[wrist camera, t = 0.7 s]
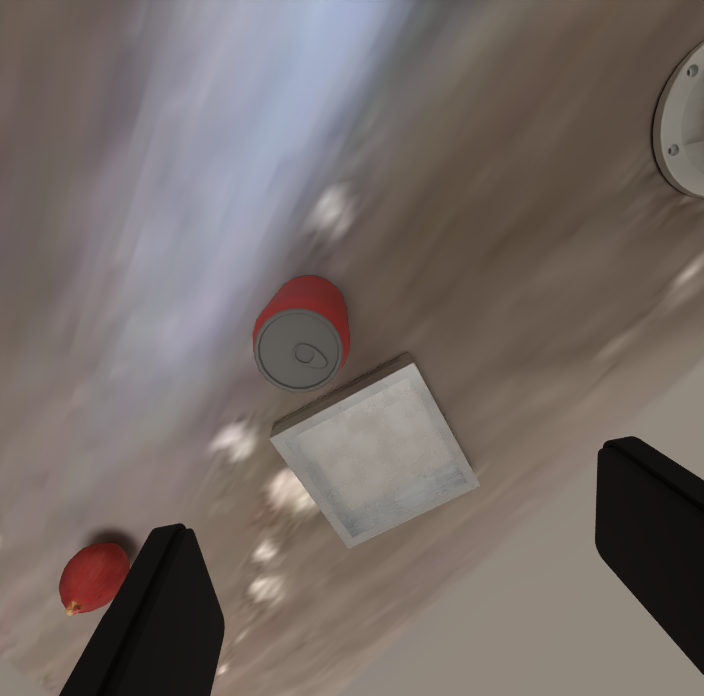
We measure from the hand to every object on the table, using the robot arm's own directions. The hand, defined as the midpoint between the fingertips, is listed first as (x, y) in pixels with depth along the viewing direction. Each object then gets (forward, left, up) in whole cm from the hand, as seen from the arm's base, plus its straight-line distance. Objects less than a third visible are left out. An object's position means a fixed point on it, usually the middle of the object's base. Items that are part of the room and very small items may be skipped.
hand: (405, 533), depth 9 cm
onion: (+36, +11, -28) cm, 47 cm away
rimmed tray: (+5, +15, -28) cm, 32 cm away
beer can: (+4, -1, -28) cm, 29 cm away
